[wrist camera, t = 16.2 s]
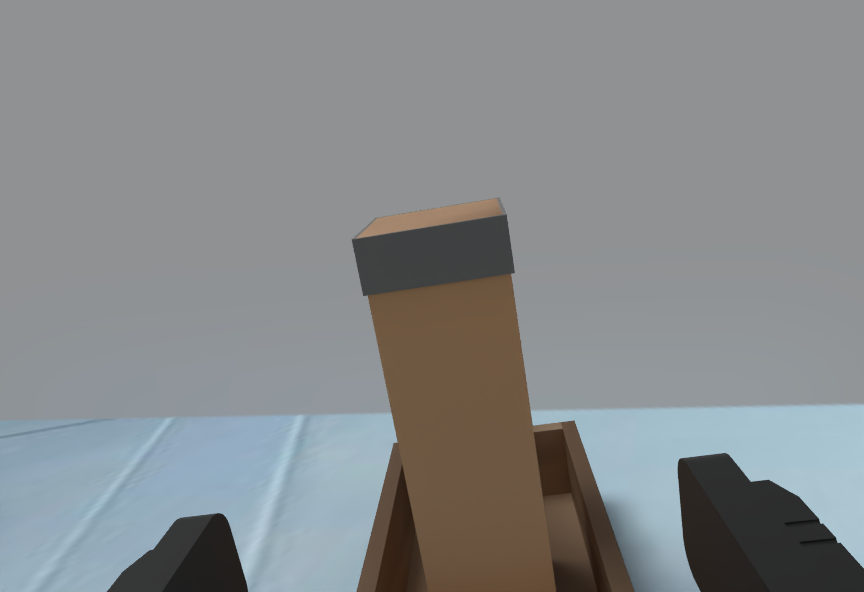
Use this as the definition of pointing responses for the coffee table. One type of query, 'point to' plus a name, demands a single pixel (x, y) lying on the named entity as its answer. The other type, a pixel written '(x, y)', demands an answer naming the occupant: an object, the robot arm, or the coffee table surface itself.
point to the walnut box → (565, 516)
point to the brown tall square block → (459, 394)
